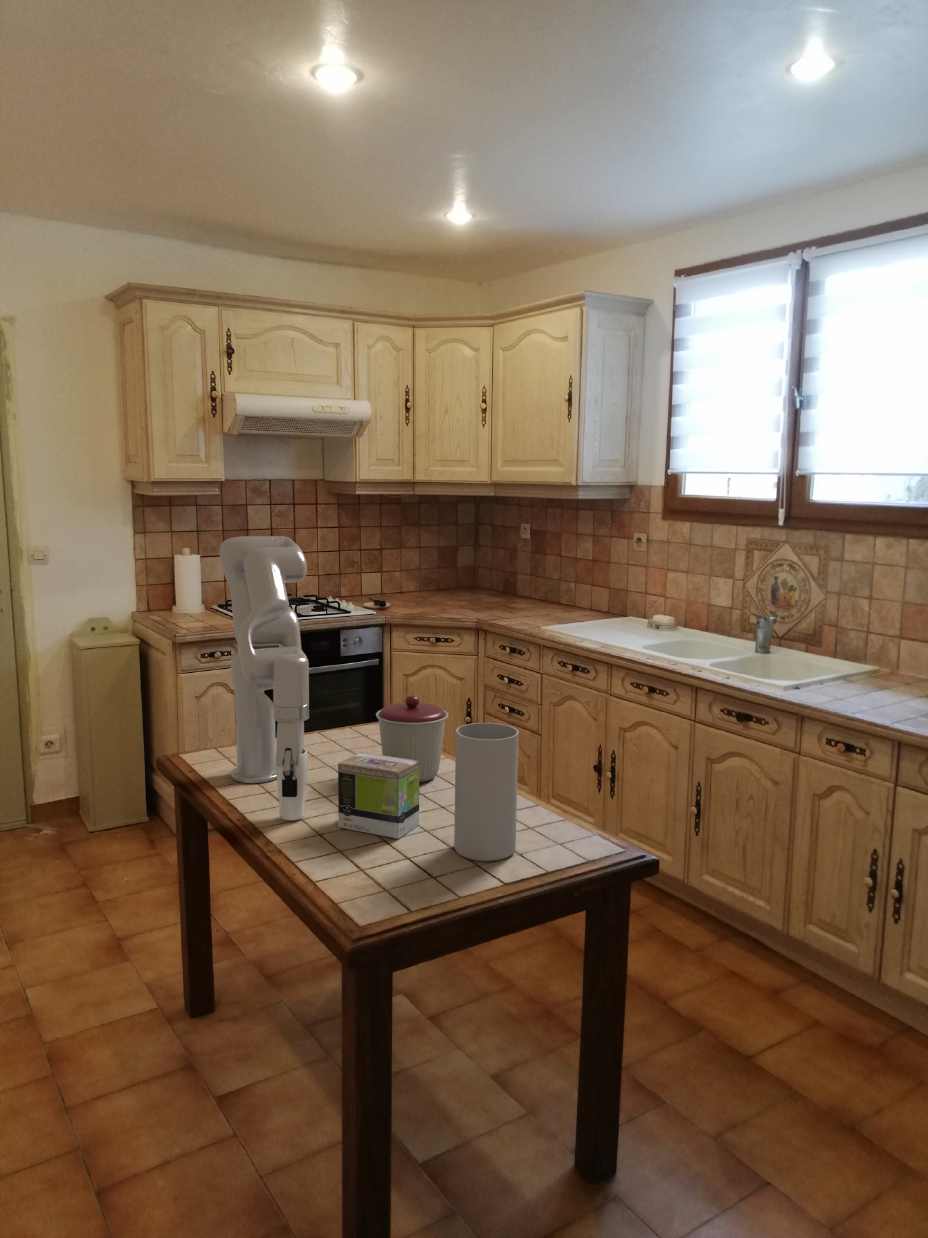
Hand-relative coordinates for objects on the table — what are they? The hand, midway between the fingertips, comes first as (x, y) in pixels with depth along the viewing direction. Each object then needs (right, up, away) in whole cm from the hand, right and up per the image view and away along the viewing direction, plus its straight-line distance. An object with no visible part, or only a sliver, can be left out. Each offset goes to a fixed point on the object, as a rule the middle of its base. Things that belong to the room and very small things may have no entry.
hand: (291, 790), depth 197 cm
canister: (+24, -3, +31) cm, 39 cm away
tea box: (+19, -8, -2) cm, 21 cm away
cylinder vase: (+42, -10, -14) cm, 45 cm away
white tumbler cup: (0, -6, +1) cm, 6 cm away
